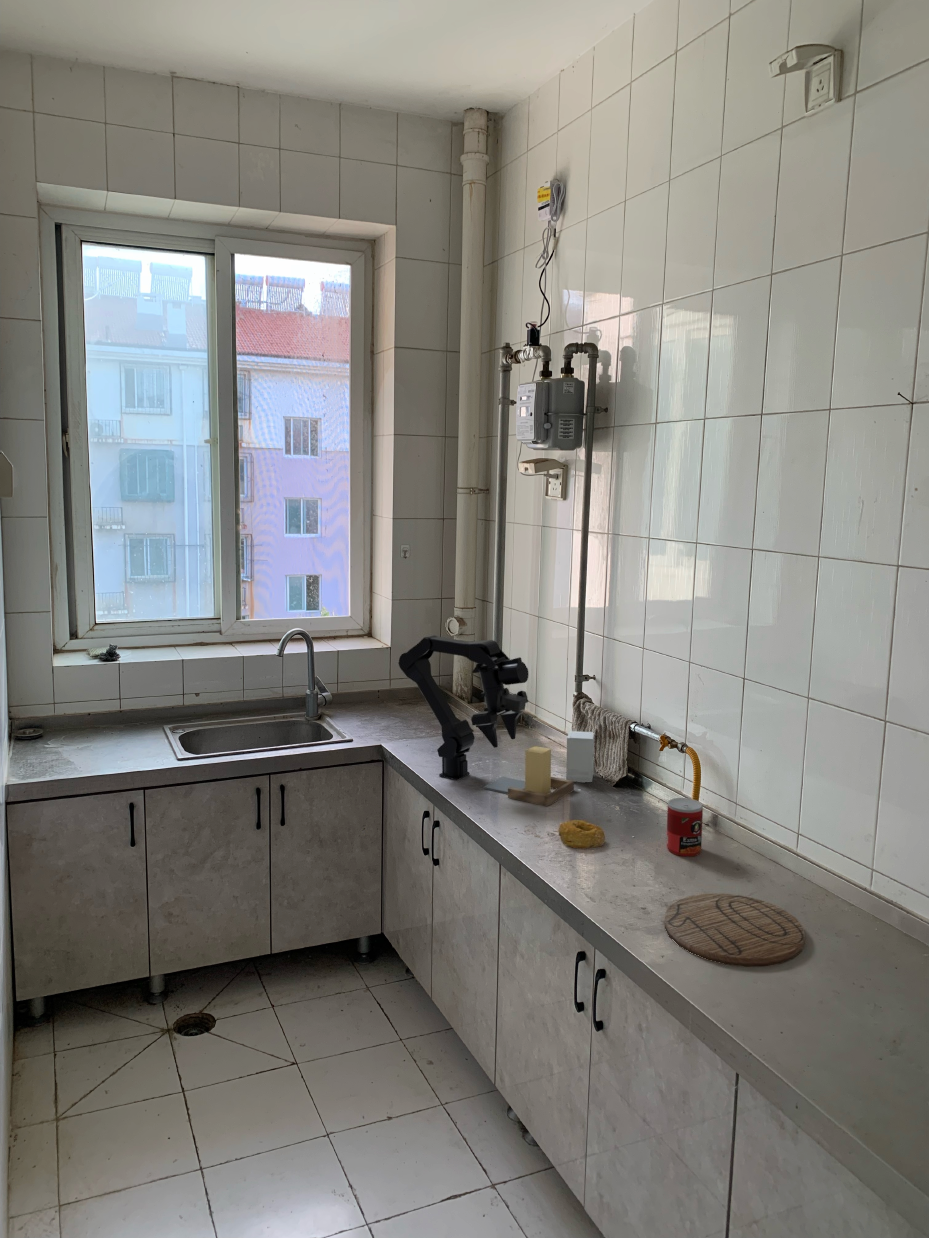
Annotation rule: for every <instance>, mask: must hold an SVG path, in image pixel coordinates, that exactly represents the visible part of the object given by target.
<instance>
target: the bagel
mask: <svg viewBox="0 0 929 1238" xmlns="http://www.w3.org/2000/svg"><path fill="white" fill-rule="evenodd" d="M557 831H558V836H559V838H560V841H561V842H562V844H564V845H565V846H567V847H569V848H570V847H571V848H574V849H581V850H583V849H588V848H589V849H590V848H591V849H592V848H601V847H602V846H603V845H604V844H605V842H606V834H605V831H604V830H603V828H602V827H600V826H599V825H596V824H593V823H590V822H588V821H586V820H581V819H580V820H578V819H573V820H567V821H564V822H561V823H560V824H559V826H558V829H557Z"/></svg>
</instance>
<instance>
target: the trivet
mask: <svg viewBox="0 0 929 1238" xmlns="http://www.w3.org/2000/svg"><path fill="white" fill-rule="evenodd" d="M664 913H665V914H664V915H665V916H664V930H665V929H666V930H665V932H666V931H667V932H666V934H667V936H668V935H669V936H668V938H669V939H671V940H672V939H673V940H674V941H675V942H676V943H677V944H678V945H679V946H678V945H677V944H676V943H675V942H674V941H673V940H672V941H673V942H674V943H675V944H676V945H677V946H678V947H680V946H681V947H683V948H684V949H683V948H682V949H683V950H685V949H686V950H688V951H689V952H691V953H693V954H692V955H694V954H696V955H699V956H701V957H703V958H702V959H704V958H706V959H708V960H707V961H710V960H712V961H711V962H714V961H716V962H715V963H718V962H720V963H719V964H722V963H724V964H723V965H726V964H729V965H728V966H736V967H744V968H745V967H750V968H752V967H753V968H754V967H769V966H774V965H780V964H783V963H786V962H788V961H791V960H793V959H794V958H796V957H797V956H798V955H799V954H801V952H802V951H803V948H804V946H805V938H806V935H805V930H804V927H803V925H802V924H801V922H800V921H799V920H798V919H797V918H796V916H794V915H793V914H791V913H789V912H788V911H787V910H785V909H783V908H781V907H779V906H777V905H775V904H773V903H771V902H767V901H765V900H762V899H758V898H754V897H752V896H751V897H750V896H746V895H741V894H732V893H721V892H720V893H703V894H702V893H701V894H696V895H695V894H694V895H690V896H687V897H684V898H681V899H678V900H676V901H675V902H673V903H672V904H670V905H669V906H668V908H667V910H666V911H665V912H664ZM681 947H680V948H681ZM686 950H685V951H686ZM688 951H687V952H688ZM689 952H688V953H689ZM691 953H690V954H691ZM696 955H695V956H696ZM699 956H698V957H699ZM701 957H700V958H701ZM706 959H705V960H706Z"/></svg>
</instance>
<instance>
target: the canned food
mask: <svg viewBox="0 0 929 1238" xmlns="http://www.w3.org/2000/svg"><path fill="white" fill-rule="evenodd" d="M666 810H667V811H666V812H667V816H666V848H667V850H668V852H670V853H671V854H672V855H675V854H676V856H679V855H680V856H679V857H687V856H689V857H695V856H697V854H698V855H699V854H700V852H701V850H702V843H703V842H702V837H703V836H702V835H703V815H704V813H703V812H704V811H703V810H704V808H703V803H701V802H700V801H698V800H696V799H693V798H688V797H675V798H672V799H669V800H668V802H667V809H666ZM694 855H695V856H694Z"/></svg>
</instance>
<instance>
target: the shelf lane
mask: <svg viewBox="0 0 929 1238" xmlns="http://www.w3.org/2000/svg"><path fill="white" fill-rule="evenodd" d="M551 789H554V790H553V791H551V792H550V793H549V794H542V793H538V792H533V791H528V790H523V789H519V788H514V787H510V788H508V794H507V798H509V799H513V800H518V801H521V802H522V801H523V802H527V803H532V804H536V805H540V806H546V807H549V806H552V804H554V803H555V802H557V801H559V800H561V799H562V798H564V797H565V796H567V795H568V794H570V793H572V792H574V789H575V782H574V781H570V780H566V778H565V779H564V778H558V777H554V776H551ZM571 791H572V792H571Z"/></svg>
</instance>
